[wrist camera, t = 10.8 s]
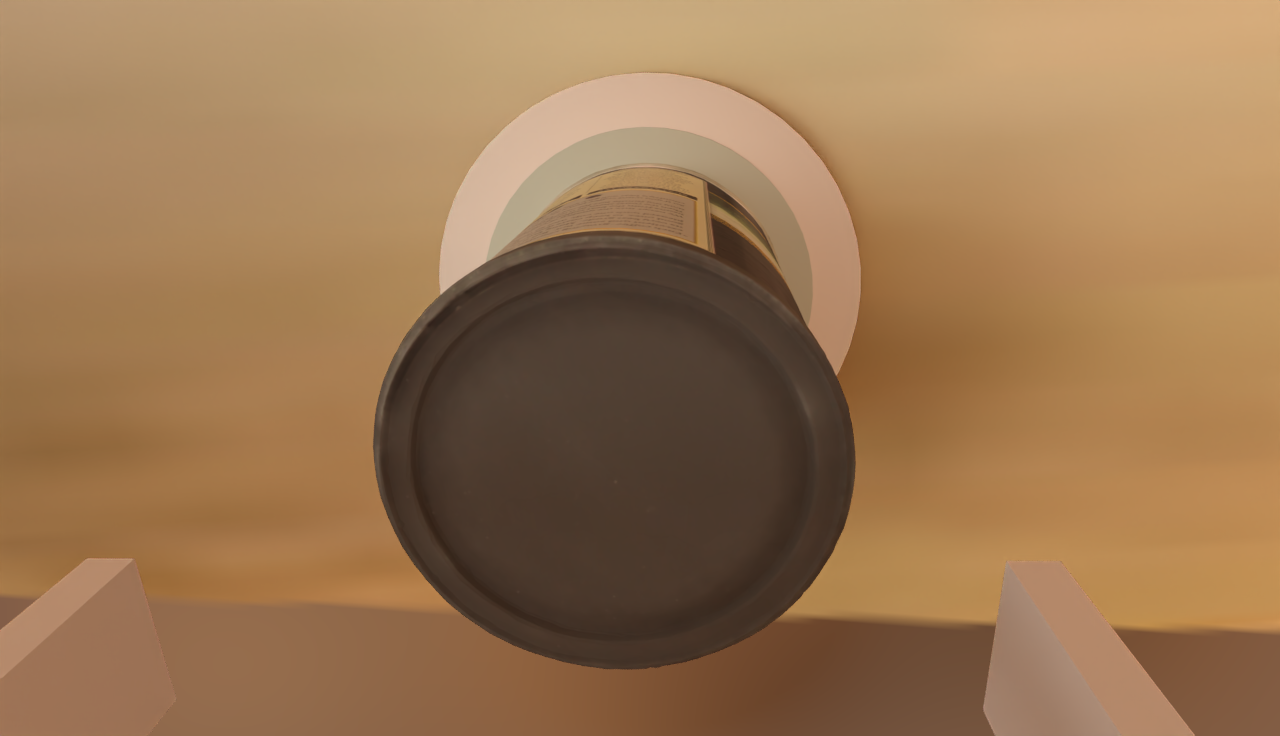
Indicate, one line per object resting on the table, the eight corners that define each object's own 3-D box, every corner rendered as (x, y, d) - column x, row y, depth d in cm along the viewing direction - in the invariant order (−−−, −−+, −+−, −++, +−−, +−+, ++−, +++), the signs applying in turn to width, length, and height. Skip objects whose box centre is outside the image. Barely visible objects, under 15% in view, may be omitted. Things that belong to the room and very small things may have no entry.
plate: (469, 469, 35) (461, 484, 33) (424, 78, 29) (412, 79, 28) (842, 470, 34) (848, 486, 32) (869, 65, 28) (878, 65, 27)
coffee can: (835, 234, 29) (955, 374, 16) (707, 462, 32) (717, 733, 19) (574, 107, 28) (467, 143, 15) (472, 357, 31) (312, 567, 18)
